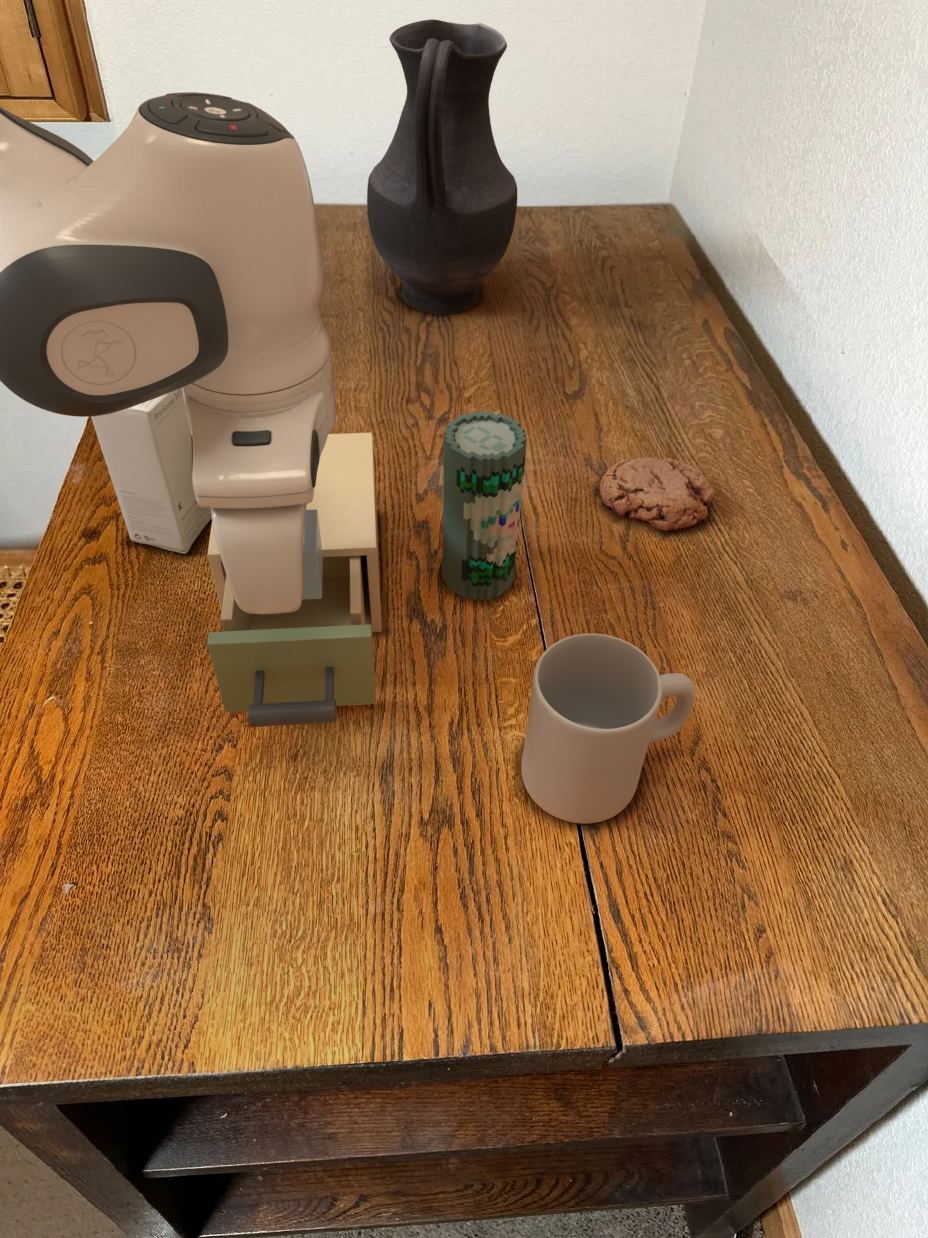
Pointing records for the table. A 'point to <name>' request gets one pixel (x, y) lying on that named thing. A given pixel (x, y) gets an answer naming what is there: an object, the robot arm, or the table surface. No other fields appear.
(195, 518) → the cosmetic box
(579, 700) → the mug
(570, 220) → the table surface
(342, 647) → the drawer
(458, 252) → the pitcher
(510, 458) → the can
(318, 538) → the block
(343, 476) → the cabinet
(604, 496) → the cookie
